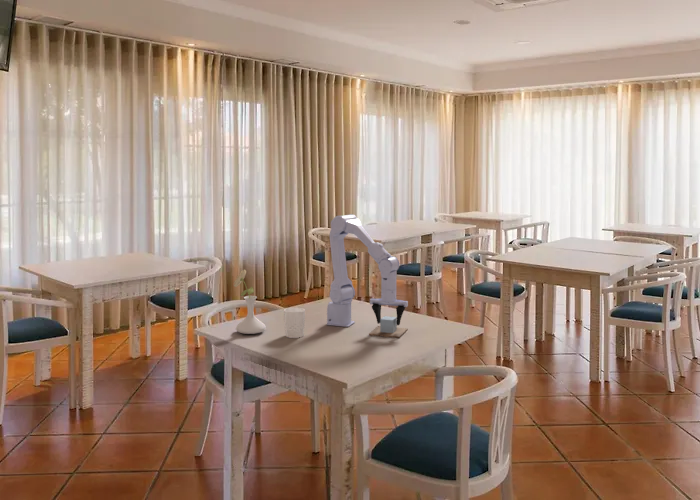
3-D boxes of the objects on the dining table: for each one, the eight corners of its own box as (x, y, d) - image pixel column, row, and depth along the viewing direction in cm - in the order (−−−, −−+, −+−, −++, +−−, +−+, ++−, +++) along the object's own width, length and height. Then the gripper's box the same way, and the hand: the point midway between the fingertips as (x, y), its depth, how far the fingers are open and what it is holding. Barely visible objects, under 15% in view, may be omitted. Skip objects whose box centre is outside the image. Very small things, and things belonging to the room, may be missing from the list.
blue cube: (380, 331, 240) (380, 319, 240) (384, 328, 245) (384, 316, 244) (393, 333, 239) (393, 320, 238) (396, 329, 243) (396, 317, 243)
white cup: (308, 334, 240) (308, 308, 239) (300, 339, 233) (299, 313, 231) (289, 332, 243) (289, 306, 241) (280, 337, 235) (280, 311, 234)
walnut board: (368, 335, 238) (368, 333, 238) (378, 327, 250) (378, 325, 249) (399, 338, 234) (399, 336, 234) (407, 329, 246) (407, 328, 245)
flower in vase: (250, 327, 250) (249, 264, 247) (272, 331, 244) (271, 267, 240) (226, 334, 240) (224, 269, 236) (248, 339, 233) (246, 272, 230)
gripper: (367, 289, 238) (367, 324, 240) (404, 292, 233) (404, 328, 235) (373, 286, 245) (372, 320, 247) (409, 288, 240) (409, 323, 242)
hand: (388, 323), depth 241 cm, fingers open, 7 cm apart
